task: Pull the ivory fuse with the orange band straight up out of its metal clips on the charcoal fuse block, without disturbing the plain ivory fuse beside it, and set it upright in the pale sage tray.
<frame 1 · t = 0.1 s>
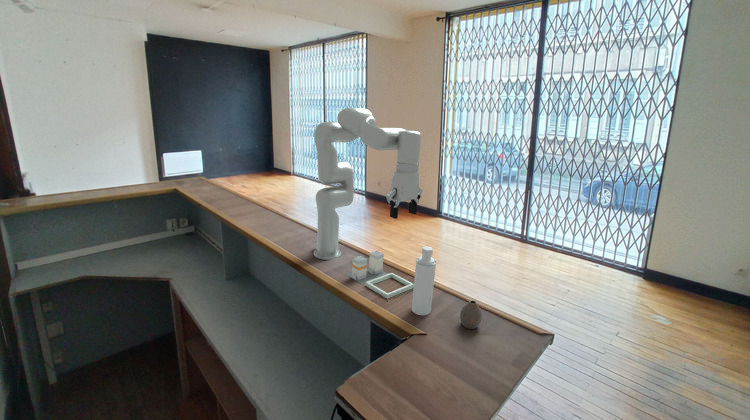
hand: (403, 215, 132), 31 cm above the counter, tool pointing down, fingers open, 9 cm apart
tray: (389, 290, 144), on the counter
vase: (469, 326, 124), on the counter
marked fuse: (358, 277, 150), point 1 cm above the counter, touching fuse block
fuse block: (367, 277, 153), on the counter
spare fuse: (375, 271, 155), point 1 cm above the counter, touching fuse block
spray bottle: (420, 310, 131), on the counter
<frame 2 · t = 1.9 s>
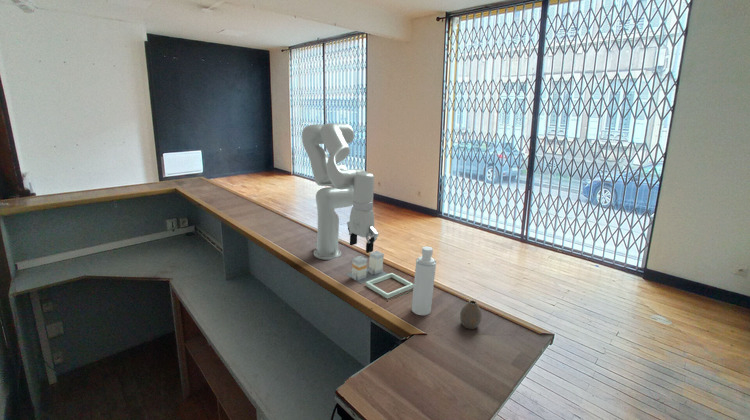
hand: (361, 248, 145), 14 cm above the counter, tool pointing down, fingers open, 9 cm apart
nothing on the counter moved.
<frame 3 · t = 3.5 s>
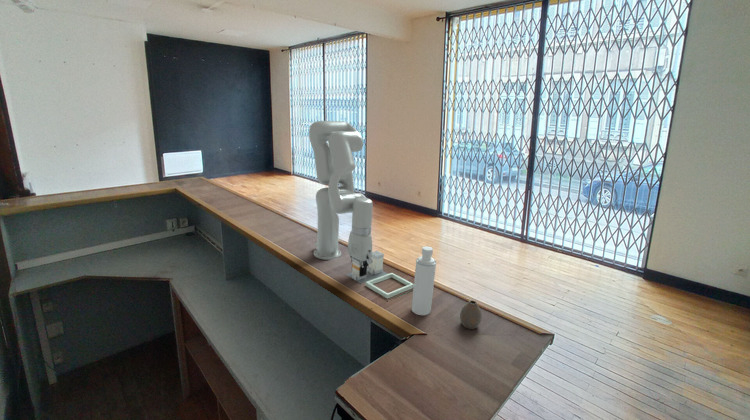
hand: (359, 272, 149), 3 cm above the counter, tool pointing down, fingers closed on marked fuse, 4 cm apart
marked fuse: (358, 277, 150), point 2 cm above the counter, touching fuse block, gripper
everything else where it was.
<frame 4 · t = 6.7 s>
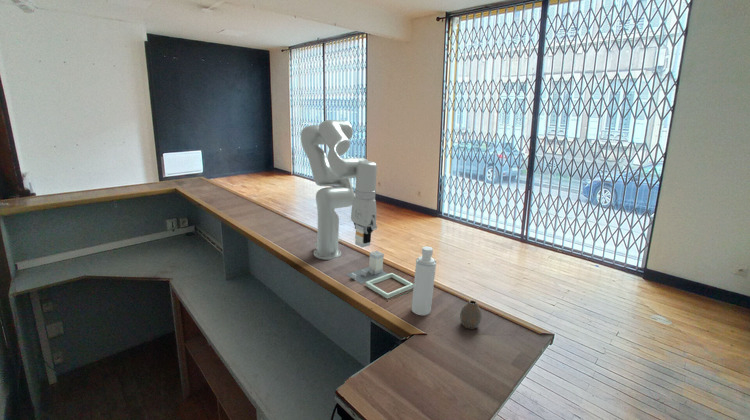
hand: (362, 240, 145), 17 cm above the counter, tool pointing down, fingers closed on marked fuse, 4 cm apart
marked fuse: (362, 244, 145), point 16 cm above the counter, touching gripper
everything else where it was.
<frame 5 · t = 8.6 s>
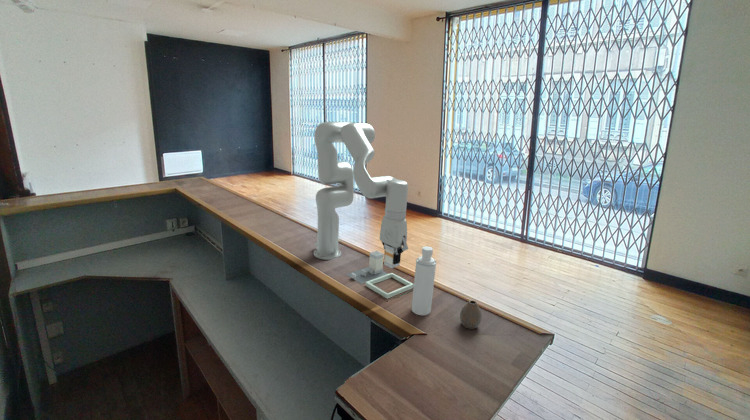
hand: (392, 260, 140), 12 cm above the counter, tool pointing down, fingers closed on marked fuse, 4 cm apart
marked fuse: (391, 265, 141), point 11 cm above the counter, touching gripper
everything else where it was.
when the fingers open (4 cm above the counter, at t = 10.3 s): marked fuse drops 2 cm, resting on tray.
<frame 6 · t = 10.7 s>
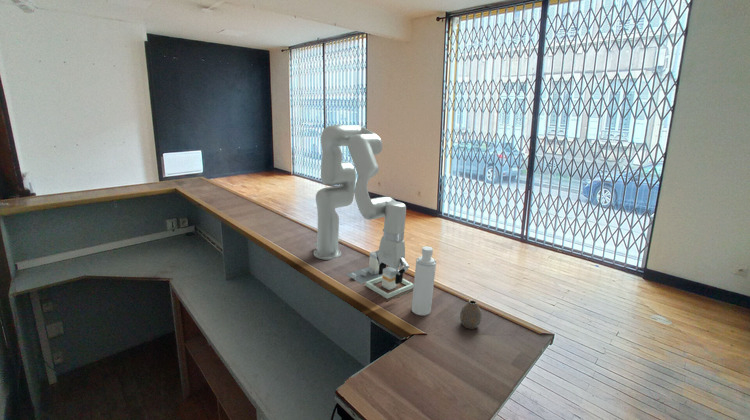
hand: (390, 278, 142), 5 cm above the counter, tool pointing down, fingers open, 8 cm apart
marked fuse: (389, 288, 144), point 1 cm above the counter, touching tray
everything else where it was.
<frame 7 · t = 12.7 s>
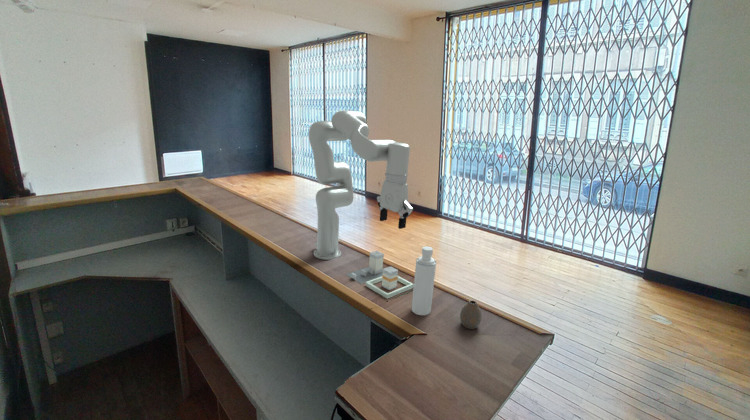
hand: (392, 224, 137), 26 cm above the counter, tool pointing down, fingers open, 9 cm apart
nothing on the counter moved.
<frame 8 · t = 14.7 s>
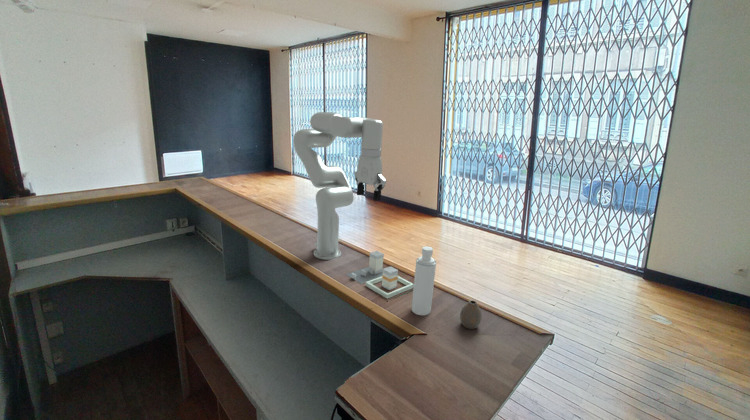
hand: (368, 197, 145), 33 cm above the counter, tool pointing down, fingers open, 9 cm apart
nothing on the counter moved.
at the end: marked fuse inside the target area on the tray (0.1 cm from its centre), point 0.6 cm above the tray's base; the gripper is holding nothing; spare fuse moved 0.0 cm from its start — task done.
